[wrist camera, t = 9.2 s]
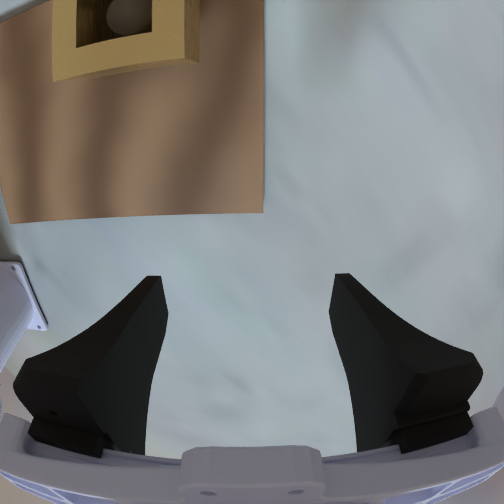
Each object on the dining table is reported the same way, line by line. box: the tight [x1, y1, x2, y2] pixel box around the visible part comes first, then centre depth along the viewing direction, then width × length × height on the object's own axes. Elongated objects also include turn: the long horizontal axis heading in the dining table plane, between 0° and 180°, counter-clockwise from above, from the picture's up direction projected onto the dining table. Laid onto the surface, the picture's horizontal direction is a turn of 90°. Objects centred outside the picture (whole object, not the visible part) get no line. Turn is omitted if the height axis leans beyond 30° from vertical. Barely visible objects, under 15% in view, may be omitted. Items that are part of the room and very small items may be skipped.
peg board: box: [0, 0, 264, 224], centre depth 15 cm, size 20×16×6 cm
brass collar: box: [52, 0, 200, 82], centre depth 10 cm, size 6×6×4 cm
